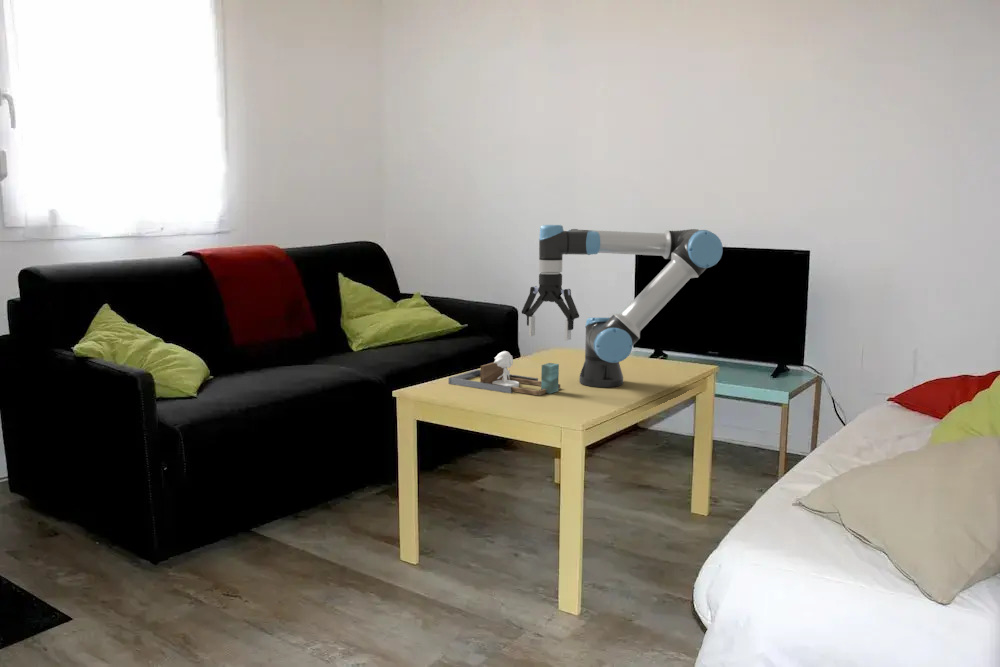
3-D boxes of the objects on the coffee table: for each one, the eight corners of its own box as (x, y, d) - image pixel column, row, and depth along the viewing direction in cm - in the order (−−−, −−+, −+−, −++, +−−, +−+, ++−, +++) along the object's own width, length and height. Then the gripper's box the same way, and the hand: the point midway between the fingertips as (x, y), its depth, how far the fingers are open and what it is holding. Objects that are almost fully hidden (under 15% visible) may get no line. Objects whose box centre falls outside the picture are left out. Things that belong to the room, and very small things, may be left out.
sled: (564, 388, 290) (565, 362, 289) (543, 396, 279) (544, 368, 277) (502, 379, 303) (503, 354, 302) (480, 386, 292) (480, 360, 291)
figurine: (518, 389, 290) (519, 353, 288) (491, 388, 290) (492, 353, 288) (519, 383, 299) (519, 349, 297) (492, 382, 299) (493, 348, 297)
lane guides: (538, 383, 298) (538, 378, 297) (510, 393, 283) (510, 387, 283) (477, 375, 311) (477, 369, 311) (448, 383, 297) (448, 377, 297)
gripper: (590, 274, 276) (588, 339, 279) (523, 270, 289) (523, 332, 293) (579, 275, 270) (577, 343, 273) (511, 271, 283) (511, 335, 286)
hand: (549, 337), depth 283 cm, fingers open, 13 cm apart
